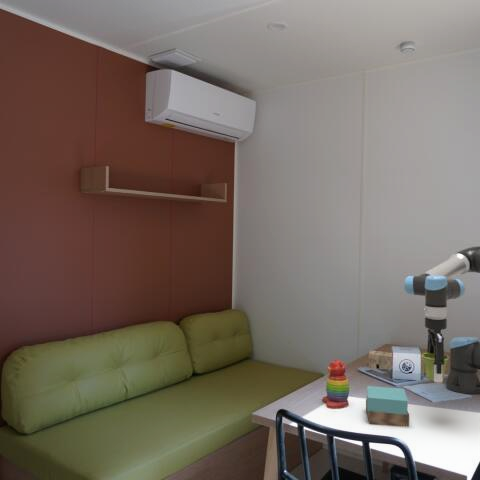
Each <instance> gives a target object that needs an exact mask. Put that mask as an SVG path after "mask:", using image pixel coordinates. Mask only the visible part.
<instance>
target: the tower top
mask: <svg viewBox="0 0 480 480" xmlns="http://www.w3.org/2000/svg"><path fill="white" fill-rule="evenodd" d="M366 387H367V388H366V399H367V409H368V411H373V412H384V413H394V414H405V415H407V411H408V404H409V403H408V398H407V395H406V392H405V388H399V387H386V386H384V387H383V386H373V385H372V386H370V385H367V386H366Z"/></svg>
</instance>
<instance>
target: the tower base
mask: <svg viewBox="0 0 480 480" xmlns="http://www.w3.org/2000/svg"><path fill="white" fill-rule="evenodd" d="M365 413H366V416H367V420H368V423H369V424H368V425H374V426H375V425H376V426H392V427H403V426H405V427H406V426H407V427H406V428H409V427H410V413H409V412H408V410H407V415H405V414H394V413H384V412H373V411H368V409H367V398H366V399H365ZM405 427H404V428H405Z"/></svg>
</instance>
